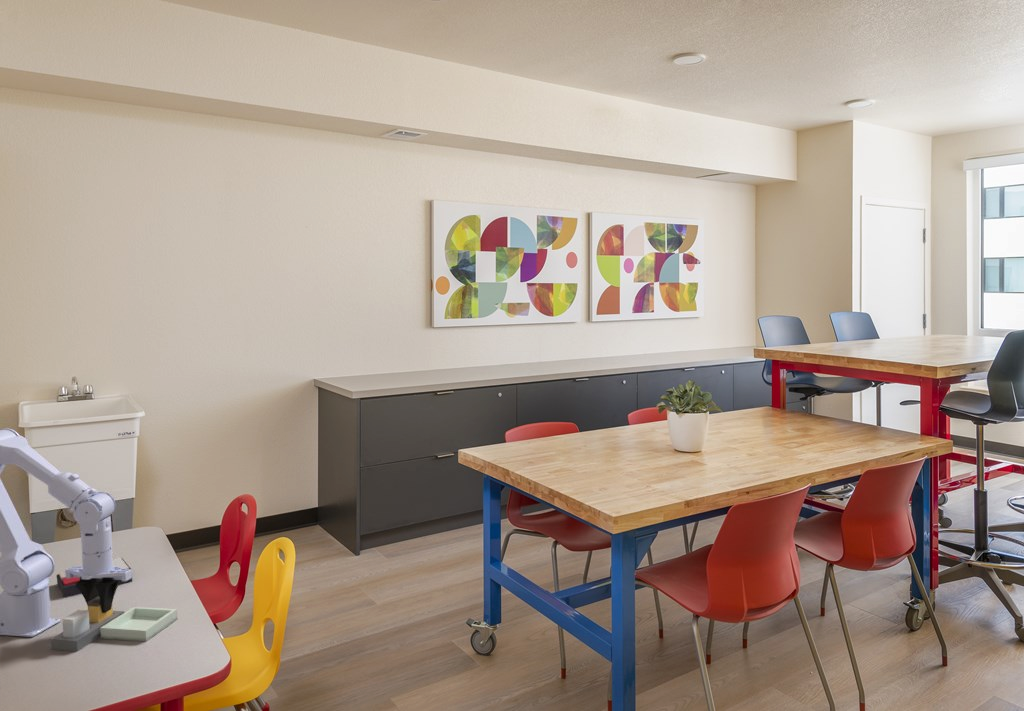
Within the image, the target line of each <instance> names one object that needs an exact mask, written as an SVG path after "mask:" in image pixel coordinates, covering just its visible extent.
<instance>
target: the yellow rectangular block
mask: <svg viewBox="0 0 1024 711" xmlns="http://www.w3.org/2000/svg"><path fill="white" fill-rule="evenodd" d="M87 603H88V606H87V610H88V611H89V622H92V623H99V622H101V621H103V620H104V619H106V618H108V617H109V616H111V615H113V611H114V610H113V609H114V608H113V607H114V606H113V604H112V607H111V610H109V611H107V612H106V613H102V611H101V606H100V597H99V596H98V597H96V598H95V599H93V600H91V601H89V602H87ZM87 603H86V604H87Z"/></svg>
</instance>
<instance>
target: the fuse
mask: <svg viewBox="0 0 1024 711" xmlns="http://www.w3.org/2000/svg"><path fill="white" fill-rule="evenodd" d="M61 622H62V632H63V637H65V638H75V637H77V636H78V635H80V634H82V633H83V632H85V631H86V630H88V629H90V625H89V611H88V609H87V610H85V609H84V610H83V609H78V610H75V611H73V612H72V613H71V614H69V615H67V616H65V617H64V618H62V620H61Z"/></svg>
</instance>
